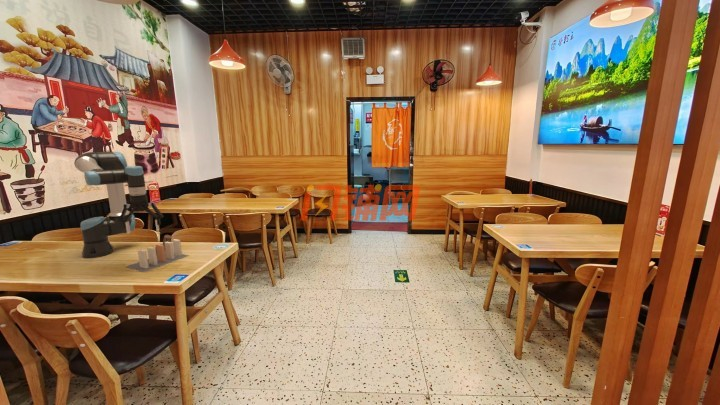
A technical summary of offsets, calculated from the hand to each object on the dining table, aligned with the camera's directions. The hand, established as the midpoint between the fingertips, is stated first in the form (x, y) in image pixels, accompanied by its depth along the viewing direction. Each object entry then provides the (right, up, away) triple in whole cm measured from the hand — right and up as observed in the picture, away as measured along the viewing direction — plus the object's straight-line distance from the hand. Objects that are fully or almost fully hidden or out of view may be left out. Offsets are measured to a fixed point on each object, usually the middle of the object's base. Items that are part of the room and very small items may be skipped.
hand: (143, 232), depth 162 cm
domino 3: (+3, -18, +11) cm, 22 cm away
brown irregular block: (-6, -16, +28) cm, 33 cm away
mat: (+1, -19, +11) cm, 22 cm away
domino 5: (+7, -17, +20) cm, 27 cm away
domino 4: (+5, -18, +15) cm, 24 cm away
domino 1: (-1, -20, +2) cm, 20 cm away
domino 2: (+1, -19, +6) cm, 20 cm away
